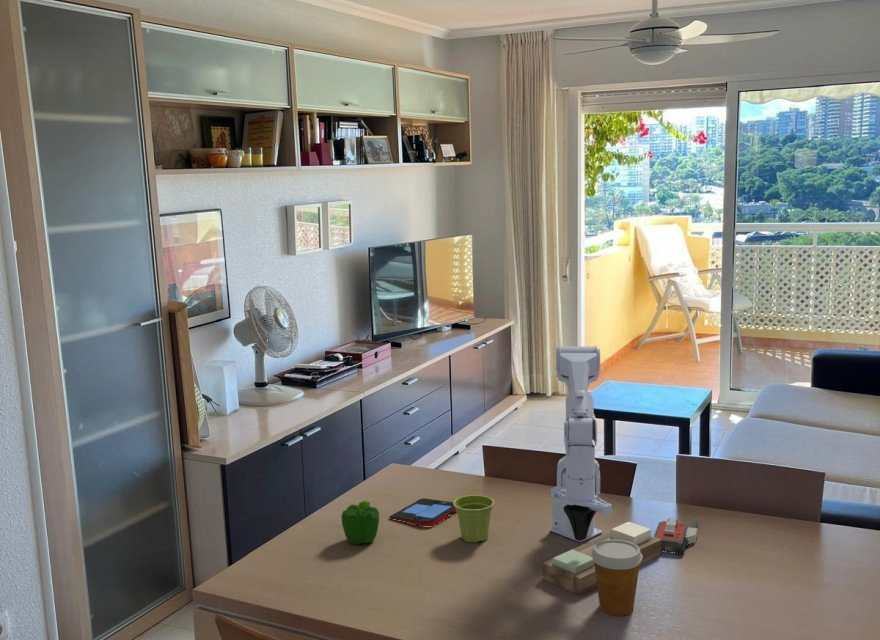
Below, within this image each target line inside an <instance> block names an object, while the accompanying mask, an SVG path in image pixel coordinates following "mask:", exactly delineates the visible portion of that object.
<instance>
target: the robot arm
mask: <svg viewBox="0 0 880 640" xmlns="http://www.w3.org/2000/svg"><path fill="white" fill-rule="evenodd" d="M555 372H556V377H557V381H560V382H562V383H565V385H566V387H567V390H568V394H567V396H566V397H565V420H564V421H563V441H564V450H565V456H563V457H562V458H560V459H559V460H558V463H557V464H556V465H557V470H556V486H554V487H551V488H550V498H552V499H553V500H552V503H551V506H552V507H551V519H552V520H551V523H552V524H551V525H552V526H551V528H550V529H549V531H550V532H553V533H554V534H558V535H560V536H562V537H566V538H568V539H570V540H573V541H576V542H579V543H582V542H585V541H586V540H589V539H591V538H594V537H596V536H598V535H600V534H602V533H603V530H602V529H598V528H596V527H595V515H596V513H597V512H598V513H599V514H600V513H601V516H605V517H607V516H609V515H611V514H613V510H612V506H613V505H612V504H611V503H610V502H607V501H605V500H603V499H602V498H600V497H599V495H600V494H601V471H600V464H599V461H597V460H596V457H595V456H596V453H595V452H596V449H595V448H596V447H597V443H598V423H597V418H596V414H595V413H594V412H595V411H594V398H593V396H592V395H591V394H590V393H589V392H588V389H589V386H590V384H591V383H594V382H596V381H598V378H599V376H600V372H601V350H600V347H598V345H594V346H561V345H558V346H557V347H556V348H555ZM593 442H594V443H593Z"/></svg>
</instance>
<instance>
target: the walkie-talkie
mask: <svg viewBox="0 0 880 640" xmlns="http://www.w3.org/2000/svg"><path fill="white" fill-rule="evenodd" d="M698 522H699V518H698V517H694V518H693V521H692V524H691V527H690V526H688V525H687V524H685V523H684V522H679V520H678V519H675V518H667V520H666V521H665V520H663V521H660V522H658V524H657V527H656V530H655V533H654V536H653V537H656V538H659V539H662V542H661V551H664V552H663V553H665V551H666V552H673V553H674V552H675V553H680V554H679V555H682V554H684V553H685V550H686V546H689V545H688V544H690V545H692V544H691V543H693V544H695V543H696V540H697V538H698V533H699V532H698V528H697V525H698ZM696 537H697V538H696ZM694 542H695V543H694ZM673 553H672V554H673ZM681 553H682V554H681Z"/></svg>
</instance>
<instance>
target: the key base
mask: <svg viewBox="0 0 880 640" xmlns="http://www.w3.org/2000/svg"><path fill="white" fill-rule="evenodd" d="M604 540H614V539H612V531H611V532H609V533H606V534H604V535H602V536H599V537H597V538H595V539H593V540H590V541H588V542H586V543H583V544H581V545H579V546H577V547H575V548H572V549H573V550H575V551H578V552H580V553H583V554H585V555H588V556H590V557H592V556H591V552H592V551H593V549H594V546H595V545H596V543H598V542H600V541H604ZM661 542H662V539H659V538H656V537H654V536H653V535H651V539H650V540H648V541H646V542H643V543H641V544H639V545H637V546H638V547H639V549H640V552H641V554H642V556H643V557H642V561H641V563H640V565H639V566H641V565H643V564H646V563H647V562H650V561H651V560H653V559H655V558H657V557H659V556H661V555H662V552H661ZM660 554H661V555H660ZM553 558H554V557H552V558H550V559H548V560H546V561H543V562H542V565H541V566H542V580H545V581H547V582H549V583H552V584H553V585H555V586H558V587H561V588H562V589H565V590H567V591H569V592H572V593H574V594H576V595H579V596H582V595H584V594H586V593H588V592H590V591H591V590H594V589H595V588H597V581H596V572H595V566H593V567H591V568H589V569H587V570H585V571H583V572H580V573H578V574H576V575H575V574H573V573H570V572H568V571H566V570H563V569H561V568H559V567H556V566H554V565H553Z"/></svg>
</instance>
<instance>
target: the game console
mask: <svg viewBox="0 0 880 640" xmlns="http://www.w3.org/2000/svg"><path fill="white" fill-rule="evenodd" d="M453 502H454V501H448V500H447V501H446V500H441V499H430V498H425V497H424V498H420V499H418V500H417V501H415V502H413V503H411V504H410V505H409V504H408V505H407V506H405V507H403V508H402V509H400V510H399V511H397V512H395V513H393V514H391V515H390V516H389V518H391V519H396V520H401V521H405V522H409V523H412V524H416V525H421V526H434V525H435V524H437V523H438V522H440V521H442V520H443V519H445V518H447V517H449V516H448V515H450V514H453V513H455V512H457V511H456V508H455V507H454V505H453ZM455 514H456V513H455ZM449 518H450V517H449ZM391 519H390V520H391ZM447 519H448V518H447ZM445 520H446V519H445ZM442 522H443V521H442ZM440 523H441V522H440ZM416 525H415V526H416ZM437 525H438V524H437ZM435 526H436V525H435ZM435 526H434V527H435Z"/></svg>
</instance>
